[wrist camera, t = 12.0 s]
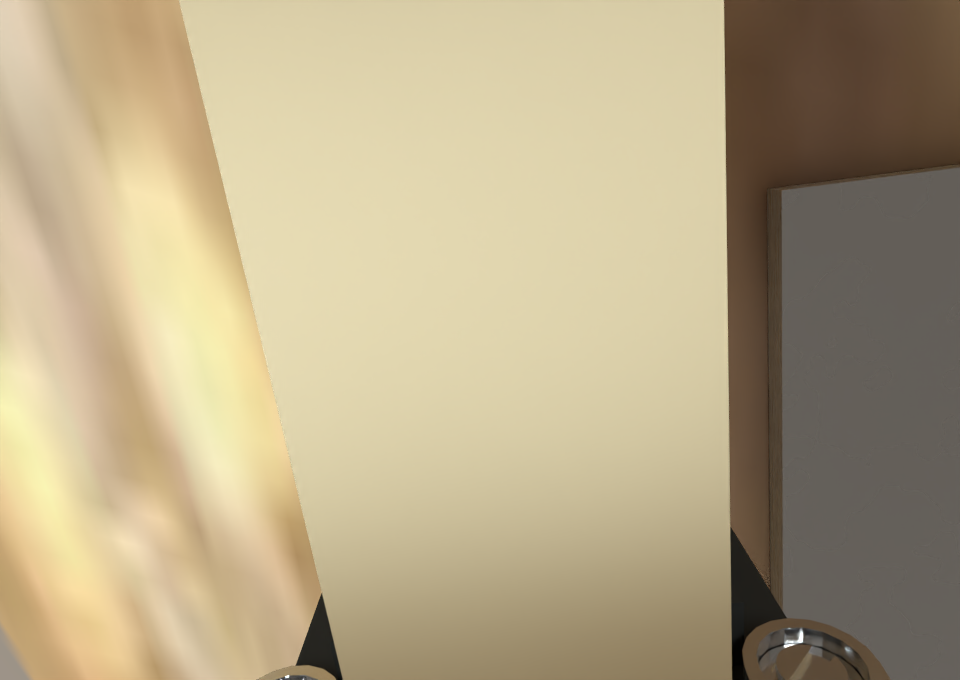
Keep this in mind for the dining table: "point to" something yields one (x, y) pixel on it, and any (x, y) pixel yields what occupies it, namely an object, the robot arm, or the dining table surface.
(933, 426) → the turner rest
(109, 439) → the dining table surface
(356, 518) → the tan bar with plate
